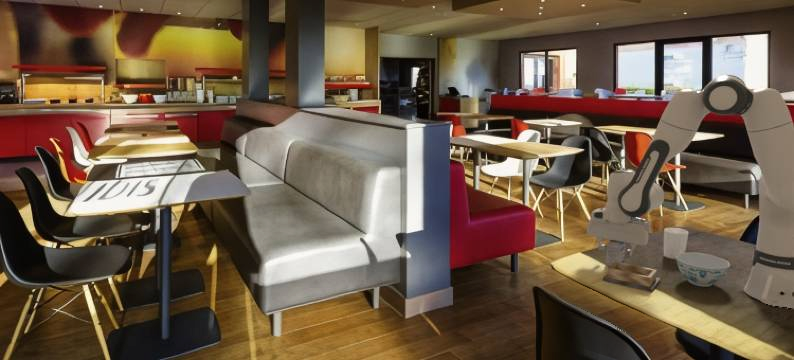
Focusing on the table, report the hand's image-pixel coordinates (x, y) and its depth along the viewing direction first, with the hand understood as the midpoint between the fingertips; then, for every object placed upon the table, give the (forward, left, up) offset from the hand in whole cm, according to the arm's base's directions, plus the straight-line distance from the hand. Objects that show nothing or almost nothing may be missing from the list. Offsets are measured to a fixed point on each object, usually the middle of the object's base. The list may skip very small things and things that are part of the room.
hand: (615, 252), depth 187 cm
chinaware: (-27, +1, -4) cm, 27 cm away
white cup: (-15, -21, -4) cm, 26 cm away
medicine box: (0, 0, -5) cm, 5 cm away
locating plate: (-9, +13, -4) cm, 16 cm away
